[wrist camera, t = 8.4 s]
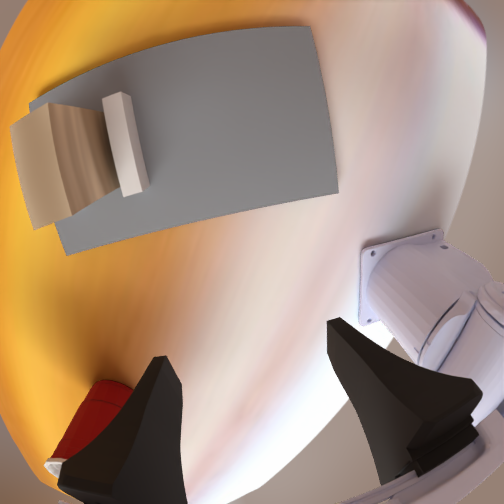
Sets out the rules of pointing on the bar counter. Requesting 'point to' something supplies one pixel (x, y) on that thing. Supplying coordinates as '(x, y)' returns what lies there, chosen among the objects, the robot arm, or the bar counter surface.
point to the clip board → (204, 131)
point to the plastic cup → (89, 421)
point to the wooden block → (62, 161)
